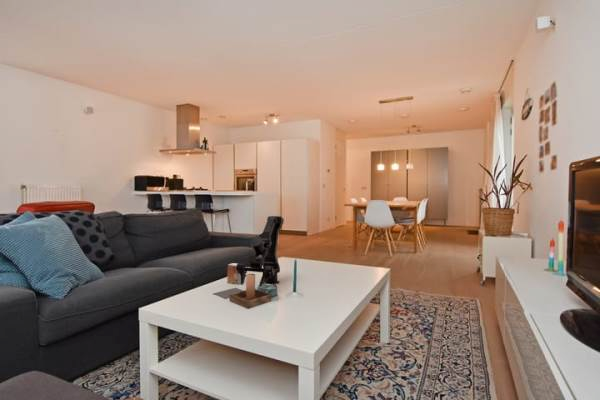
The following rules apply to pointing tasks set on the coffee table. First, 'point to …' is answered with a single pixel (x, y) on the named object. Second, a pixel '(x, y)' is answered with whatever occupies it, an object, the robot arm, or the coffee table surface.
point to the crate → (241, 300)
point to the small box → (233, 274)
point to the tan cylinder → (250, 287)
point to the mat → (227, 293)
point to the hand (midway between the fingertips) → (250, 285)
